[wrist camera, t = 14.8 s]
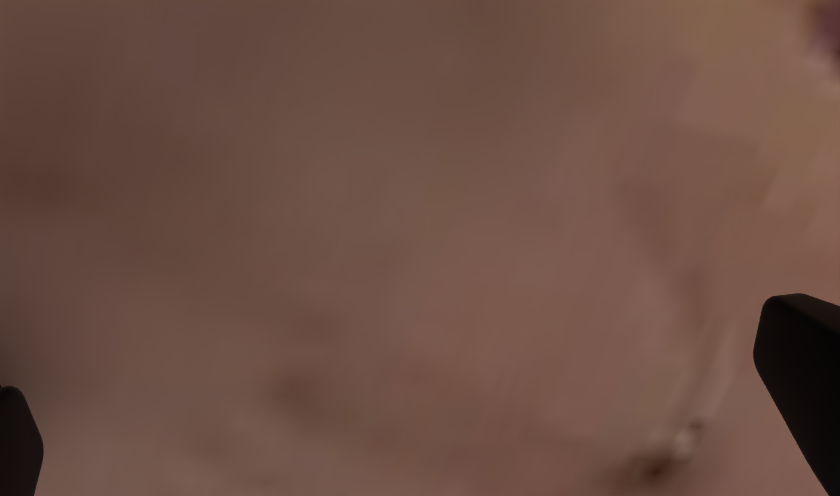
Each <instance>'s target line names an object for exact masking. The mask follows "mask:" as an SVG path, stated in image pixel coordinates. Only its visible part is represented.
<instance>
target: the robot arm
mask: <svg viewBox="0 0 840 496" xmlns="http://www.w3.org/2000/svg"><path fill="white" fill-rule="evenodd" d="M753 358H754V363H755V366H756V369H757V371H758V373H759V375H760V377H761V379H762V380H763V382H764V384H765V386H766V388H767V390H768V391H769V393H770V395H771V397H772V399H773V400H774V402H775V404H776V406H777V408H778V410H779V411H780V413H781V415H782V417H783V419H784V421H785V422H786V424H787V426H788V428H789V430H790V431H791V433H792V435H793V437H794V439H795V441H796V442H797V444H798V446H799V448H800V450H801V452H802V453H803V455H804V457H805V459H806V460H807V462H808V464H809V465H810V467H811V469H812V470H813V472H814V474H815V475H816V477H817V478H818V480H819V481H820V483H821V484H822V486H823V488H824V489H825V491H826V492H827V494H828V495H829V496H840V306H838V305H835V304H832V303H829V302H826V301H823V300H820V299H818V298H815V297H812V296H809V295H806V294H800V293H796V294H788V295H779V296H772V297H770V298H769V299H767V300H766V301H765V303H764V304H763V307H762V311H761V316H760V321H759V325H758V330H757V335H756V339H755V344H754V349H753ZM43 453H44V450H43V442H42V438H41V435H40V433H39V431H38V428H37V426H36V423H35V421H34V419H33V416H32V414H31V411H30V409H29V407H28V404H27V402H26V400H25V397H24V395H23V394H22V392H21V391H20V390H19V389H18V388H15V387H13V386H6V387H1V386H0V496H34V493H35V489H36V485H37V481H38V477H39V473H40V469H41V466H42V461H43Z"/></svg>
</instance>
